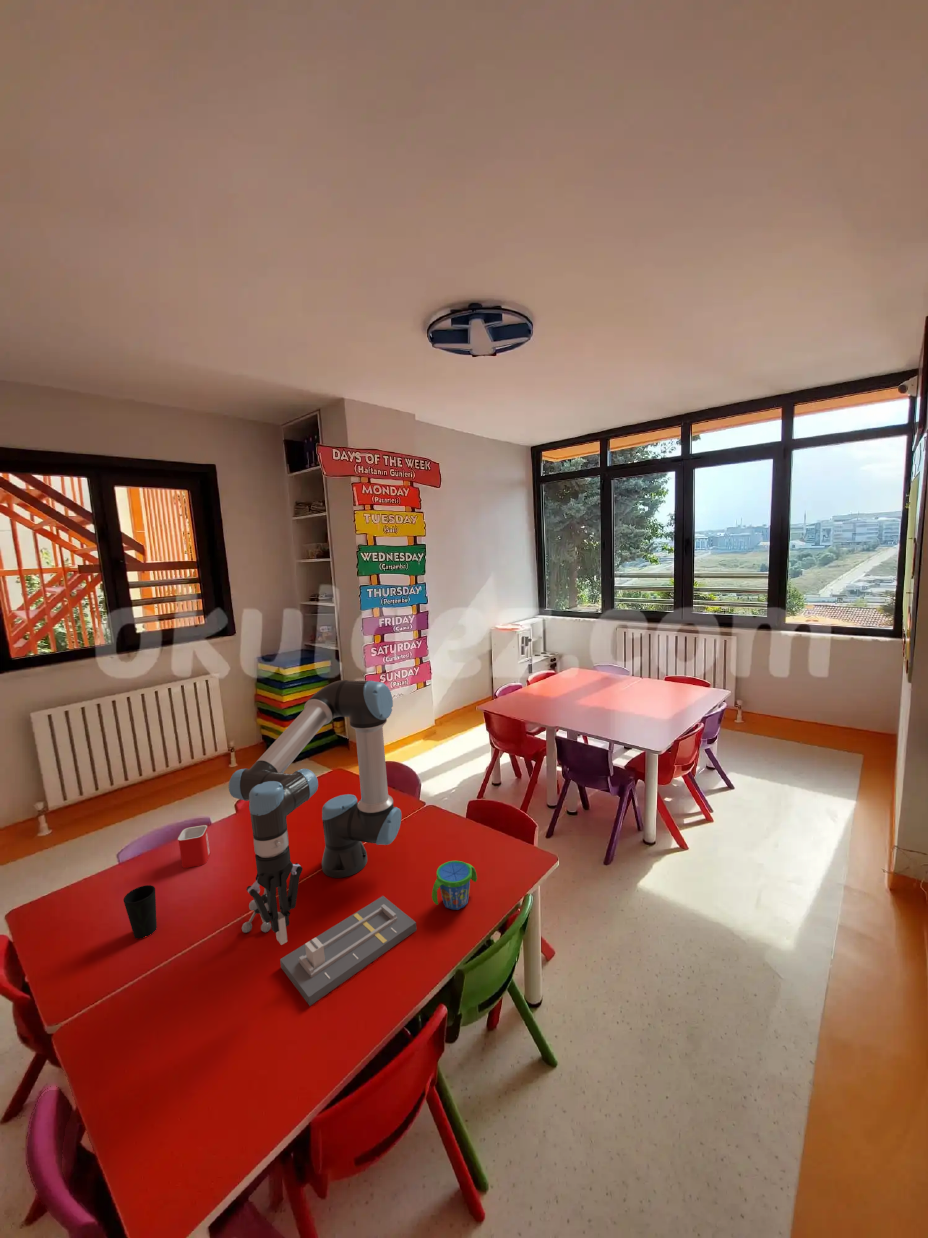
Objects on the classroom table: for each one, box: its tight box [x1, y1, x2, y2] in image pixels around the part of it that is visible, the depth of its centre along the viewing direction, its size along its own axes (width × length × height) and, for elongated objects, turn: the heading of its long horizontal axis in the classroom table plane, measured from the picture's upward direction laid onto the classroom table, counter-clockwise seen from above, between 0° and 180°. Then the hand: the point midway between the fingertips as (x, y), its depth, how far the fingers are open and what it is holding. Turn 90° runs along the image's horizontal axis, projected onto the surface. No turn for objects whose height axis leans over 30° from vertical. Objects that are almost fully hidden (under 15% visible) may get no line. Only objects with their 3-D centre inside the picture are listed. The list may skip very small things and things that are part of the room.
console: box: [279, 895, 418, 1007], centre depth 134 cm, size 16×32×4 cm, turn 134°
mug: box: [177, 824, 211, 869], centre depth 179 cm, size 12×8×11 cm
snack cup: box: [431, 860, 478, 911], centre depth 149 cm, size 16×10×10 cm
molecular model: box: [241, 888, 272, 934], centre depth 146 cm, size 8×12×11 cm
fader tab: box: [304, 936, 325, 970], centre depth 127 cm, size 4×3×5 cm
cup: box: [123, 884, 158, 939], centre depth 144 cm, size 8×8×12 cm
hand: (282, 940), depth 120 cm, fingers closed
